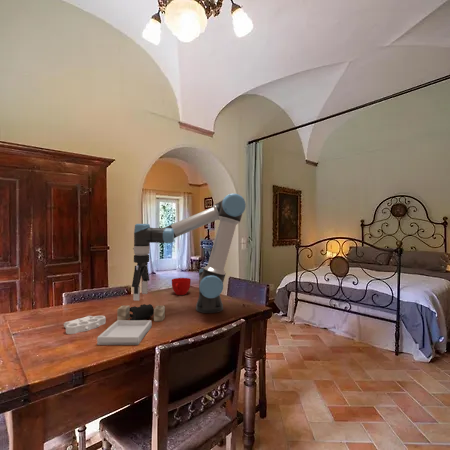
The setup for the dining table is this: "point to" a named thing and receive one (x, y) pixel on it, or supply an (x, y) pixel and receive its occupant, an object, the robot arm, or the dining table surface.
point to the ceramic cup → (181, 285)
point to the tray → (125, 332)
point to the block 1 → (123, 313)
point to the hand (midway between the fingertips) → (140, 296)
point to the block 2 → (159, 313)
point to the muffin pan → (84, 324)
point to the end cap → (141, 312)
